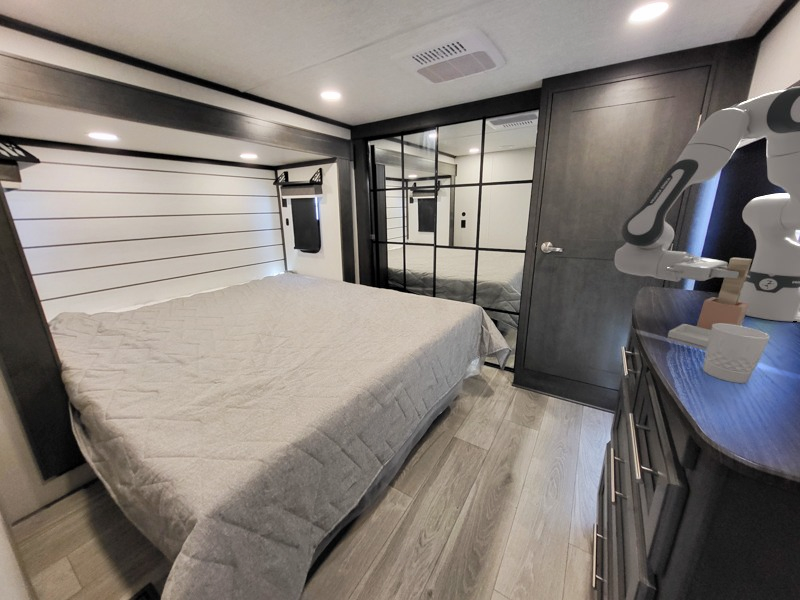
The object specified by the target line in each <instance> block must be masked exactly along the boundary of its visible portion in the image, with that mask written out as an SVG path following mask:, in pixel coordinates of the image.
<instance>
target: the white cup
mask: <svg viewBox="0 0 800 600" xmlns="http://www.w3.org/2000/svg"><path fill="white" fill-rule="evenodd" d="M770 337H771V335H770V334H769V333H767V332H764V331H761V330H758V329H756V328H752V327H747V326H744V325H742V326H739V325H733V324H723V323H717V324H713V325H712V328H711V332H710V336H709V340H708V344H707V347H706V348H707V349H706V351H705V353H704V354H705V355H704V360H703V364H702V366H701V367H702V371H703V372H704V373H706V374H707V375H709V376H711V377H713V378H716V379H720V380H722V381H725V382H730V383H736V384H745V383H747V382H749V381H750V379H751V376H752V374H753V371H755V369H756V367H757V365H758V363H759V361H760V360H761V358H762V356H763V353H764V351H765V348H766V346H767V345H768V342H769V340H770V339H771V338H770Z"/></svg>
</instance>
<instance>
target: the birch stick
mask: <svg viewBox="0 0 800 600" xmlns="http://www.w3.org/2000/svg"><path fill="white" fill-rule="evenodd" d="M752 262H753V259H752V258H745V257H743V258H742V257H731V258H729V263H728V265H727V267H728V268H727V270H730V271H731V270H732V271H739V272H740V274H739V277H737V278H728V277H723V282H722V284H721V286H720V287H721V288H720V291H719V293H718V297H717V298H718V299H717V302H719V303H724V304H730V305H735V306H737V303H738V300H739V297H740V294H741V291H742V288H743V285H744V282H745V279H746V276H747V273H748V271H749V270H750V268H751V265H752V264H751V263H752Z"/></svg>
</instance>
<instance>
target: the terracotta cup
mask: <svg viewBox="0 0 800 600" xmlns="http://www.w3.org/2000/svg"><path fill="white" fill-rule="evenodd" d="M717 299H718V297H713V296H712V297H710V298H707V299H705V300H704V301H703V304H702V307H701V311H700V314H699V316H698V320H697V324H696V327H700V328H705V329H709V330H711V328H712V325H713V324H717V323H723V324H733V325H739V326H743V322H744V320H745V318H746V317H745V316H746V315H745V314H746V311H747V309H748V306H749V303H744V302H738V303H737V306H735V305H730V304H724V303H719V302H717Z"/></svg>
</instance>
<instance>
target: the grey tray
mask: <svg viewBox="0 0 800 600" xmlns="http://www.w3.org/2000/svg"><path fill="white" fill-rule="evenodd" d="M696 326H697V325H696ZM696 326H695V325H691V324H688V323H687V324H686V323H682V324H680V325H678V326H675V328H672V329H670V330H668V334H667V336H666V341H670V342H673V343H677V344H681V345H684V346H686V347H687V346H688V347H690V348H694V349H697V350H698V349H699V350H702V351H705V352H706V349H707V344H708V340H709V336H710V332H711V330H709V329H705V328H700V327H696Z"/></svg>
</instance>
